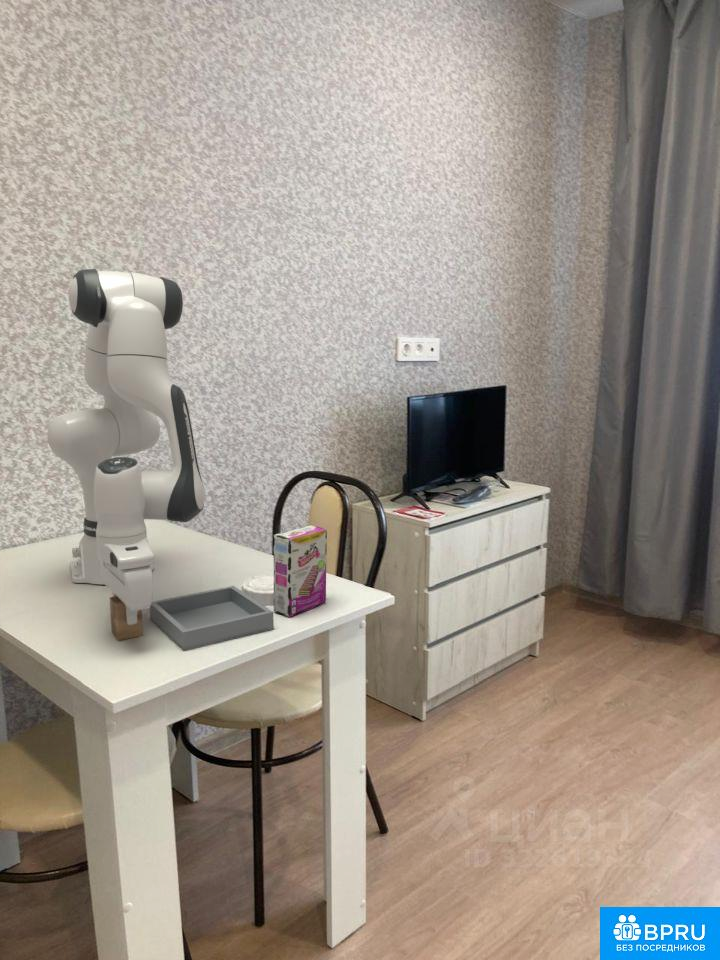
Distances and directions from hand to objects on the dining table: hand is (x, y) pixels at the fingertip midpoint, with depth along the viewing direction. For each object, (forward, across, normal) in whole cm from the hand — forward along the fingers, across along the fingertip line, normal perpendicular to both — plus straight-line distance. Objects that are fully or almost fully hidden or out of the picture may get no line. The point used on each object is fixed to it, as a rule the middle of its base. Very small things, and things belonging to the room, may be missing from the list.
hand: (126, 618), depth 139 cm
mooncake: (+4, -4, +32) cm, 32 cm away
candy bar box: (+3, +6, +34) cm, 35 cm away
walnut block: (+3, 0, 0) cm, 3 cm away
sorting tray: (+3, +4, +15) cm, 16 cm away
